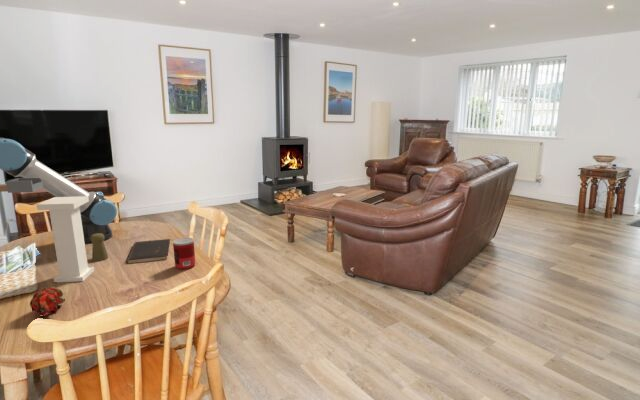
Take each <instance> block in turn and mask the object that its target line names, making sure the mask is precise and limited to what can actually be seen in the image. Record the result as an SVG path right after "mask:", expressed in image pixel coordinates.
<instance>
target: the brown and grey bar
mask: <svg viewBox="0 0 640 400" xmlns="http://www.w3.org/2000/svg"><path fill="white" fill-rule="evenodd" d="M5 182H6V183H5V184H1V183H0V192H3V193H4V192H5V193H8V194H9V193H10V194H14V193H34V192H35V193H36V192H37V191H40V190H44V189H43V188H44V187H43V181H42V178H23V177H16V178H14V179H13V178H12V179H10V180H7V181H5Z"/></svg>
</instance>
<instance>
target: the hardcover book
mask: <svg viewBox="0 0 640 400" xmlns="http://www.w3.org/2000/svg"><path fill="white" fill-rule="evenodd" d="M170 244H171V238H165V239H164V238H163V239H154V240H145V241H142V240H141V241H135V242H134V243H133V245H132V247H131V249H130V253H129V255H128V256H127V259H126V263H127V265H128V264H133V263H143V262H151V261H152V262H153V261H159V260H160V261H161V260H168V258H169V251H170Z"/></svg>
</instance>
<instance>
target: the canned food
mask: <svg viewBox="0 0 640 400" xmlns="http://www.w3.org/2000/svg"><path fill="white" fill-rule="evenodd" d="M172 245H173V248H172V249H173V258H174V267H175V269H177V270H180V271H181V270H185V271H186V270H188V269H189V270H190V269H192V268H193V267H195V266H196V255H195V254H196V253H195V240H194V238H192V237H181V238H180V237H179V238H177V239H175V240H173V244H172Z"/></svg>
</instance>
